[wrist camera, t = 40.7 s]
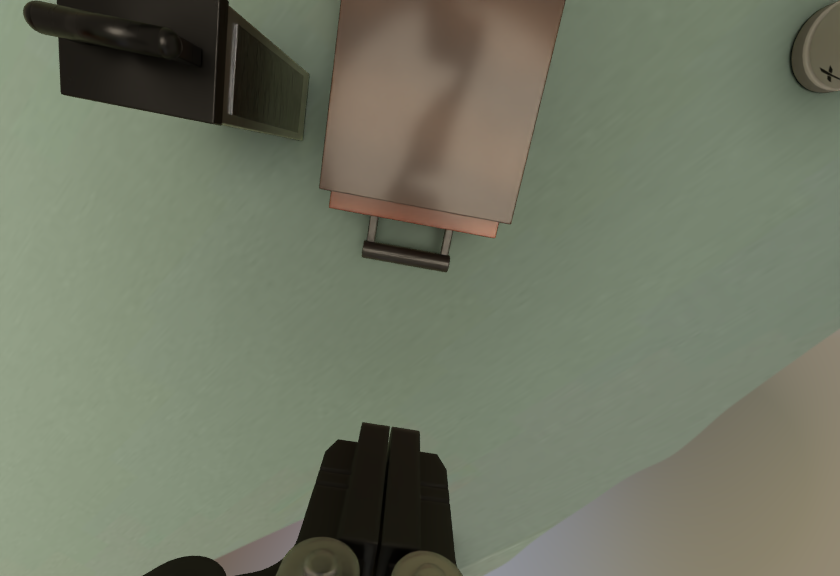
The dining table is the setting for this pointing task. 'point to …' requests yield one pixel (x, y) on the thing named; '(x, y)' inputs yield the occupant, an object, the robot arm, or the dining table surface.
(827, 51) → the travel mug
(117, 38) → the grater
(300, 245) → the dining table surface
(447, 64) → the cabinet
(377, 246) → the drawer
